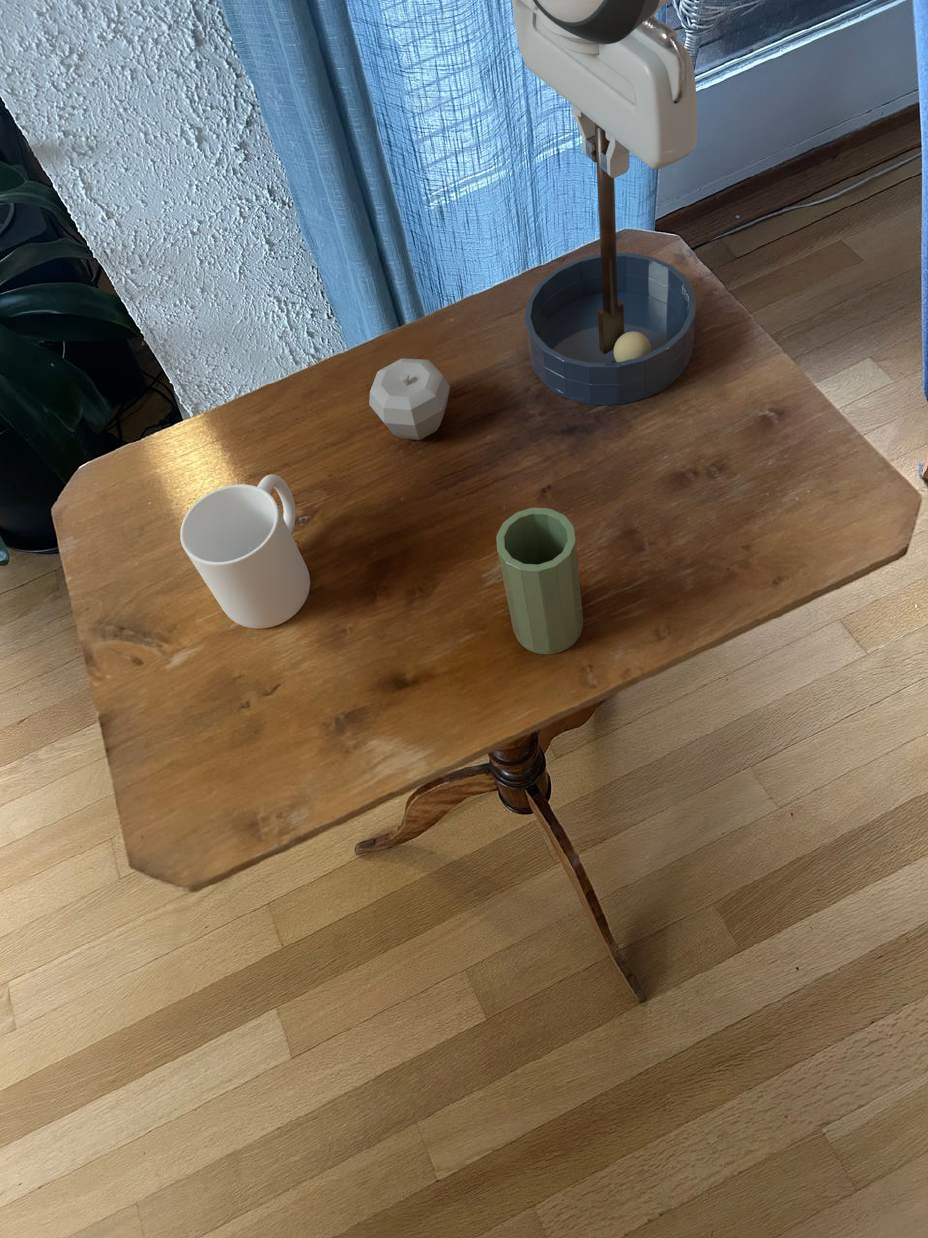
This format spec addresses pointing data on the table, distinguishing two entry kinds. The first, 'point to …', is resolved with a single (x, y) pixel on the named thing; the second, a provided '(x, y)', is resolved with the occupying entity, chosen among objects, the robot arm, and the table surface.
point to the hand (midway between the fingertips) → (605, 163)
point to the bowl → (571, 332)
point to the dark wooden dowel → (607, 254)
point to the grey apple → (410, 398)
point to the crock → (541, 579)
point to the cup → (248, 552)
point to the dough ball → (631, 346)
